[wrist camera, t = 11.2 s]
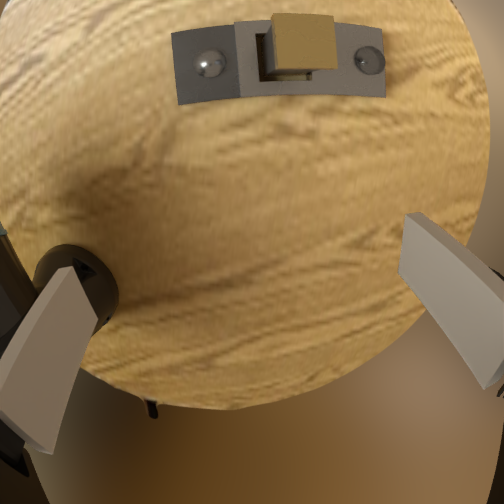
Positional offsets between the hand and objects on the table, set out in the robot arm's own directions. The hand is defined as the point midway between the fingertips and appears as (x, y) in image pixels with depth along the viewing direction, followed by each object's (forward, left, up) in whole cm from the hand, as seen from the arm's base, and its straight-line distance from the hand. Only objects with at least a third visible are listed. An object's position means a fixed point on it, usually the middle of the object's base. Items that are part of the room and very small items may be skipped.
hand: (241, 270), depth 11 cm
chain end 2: (+10, +10, -27) cm, 30 cm away
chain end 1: (+2, +10, -27) cm, 29 cm away
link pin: (+6, +10, -27) cm, 29 cm away
